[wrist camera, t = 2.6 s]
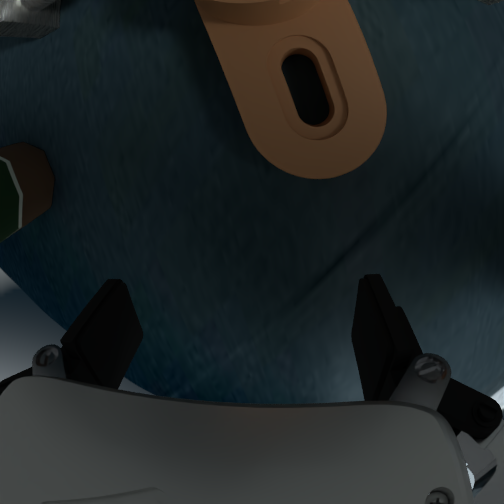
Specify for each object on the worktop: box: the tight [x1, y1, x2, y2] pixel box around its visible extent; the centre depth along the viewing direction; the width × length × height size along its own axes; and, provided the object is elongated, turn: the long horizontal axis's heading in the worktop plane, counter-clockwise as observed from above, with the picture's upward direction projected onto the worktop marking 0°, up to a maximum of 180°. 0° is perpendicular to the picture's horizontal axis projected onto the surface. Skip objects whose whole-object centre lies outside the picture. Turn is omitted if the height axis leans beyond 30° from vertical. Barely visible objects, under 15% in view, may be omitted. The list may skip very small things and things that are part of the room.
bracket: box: [194, 0, 387, 179], centre depth 13 cm, size 18×8×7 cm, turn 20°
